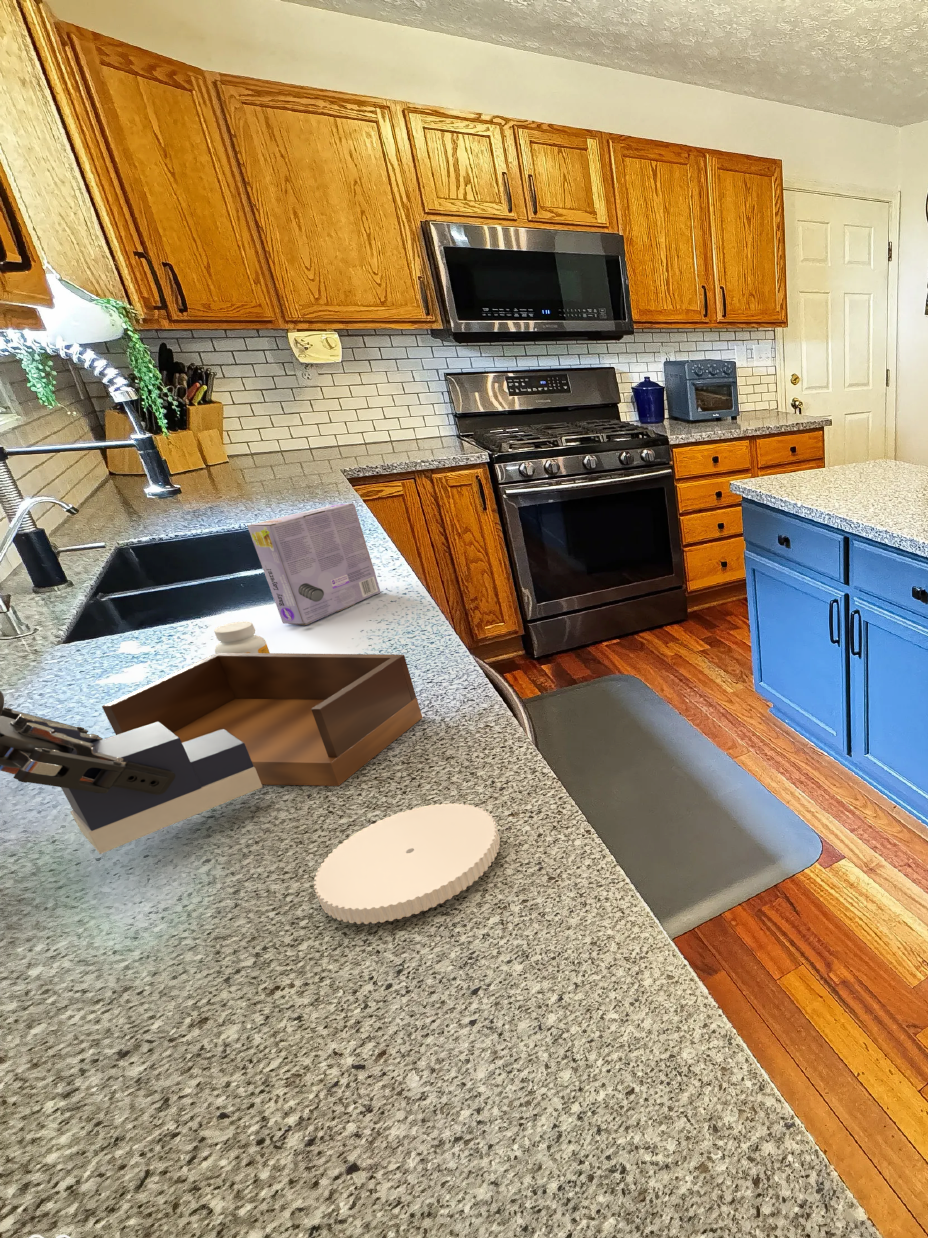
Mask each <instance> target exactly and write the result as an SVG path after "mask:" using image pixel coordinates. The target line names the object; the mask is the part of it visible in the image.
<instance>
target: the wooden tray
mask: <svg viewBox="0 0 928 1238" xmlns="http://www.w3.org/2000/svg"><path fill="white" fill-rule="evenodd" d="M407 663H408V662H407V660H406V657H405V654H391V653H390V654H389V653H387V654H386V653H385V654H383V653H381V654H380V653H378V654H375V653H294V652H293V653H291V652H290V653H289V652H288V653H283V652H281V653H279V652H278V653H277V652H270V653H214V654H212V655H209V656H206V657H205V658H202V659H201V660H198V661H197V662H194V663H192V664H190V665H187V666H185V667H183V668H181V669H179V670H177V671H175V672H173V673H170V674H168V675H166V676H164V677H162V678H159V679H158V680H155V681H153V682H151V683H148V684H146V685H144V686H142V687H140V688H138V689H136V690H134V691H132V692H129V693H127V694H125V695H123V696H121V697H118V698H116V699H114V700H112V701H109V702H108V703H105V704H104V705H101V708H102V710H103V712H104V715H105V717H106V718H107V721H108V722H109V724H110V727H111V729H112V730H113V732H114V735H118V734H121V733H124V732H127V731H130V730H133V729H136V728H140V727H143V726H146V725H149V724H152V723H155V722H160V723H161V724H162V725H164V726H165V727H166V728H167V729H169V730H170V731H171V732H173V733H174V734H175V735H176V736H178V737H179V738H180V740H181V742H182V743H184V742H186V741H189V740H192V739H195V738H198V737H201V736H204V735H207V734H210V733H212V732H215V731H218V730H221V729H225V730H226V731H228V732H229V733H231V734H232V735H233V736H235V737H236V738H238V739H239V740H241V741H242V742H243V743H245V746H246V748H247V751H248V753H249V756H250V758H251V761H252V763H253V766H254V767H255V769H256V772H257V774H258V777H259V779H260V782H261V784H262V786H265V785H266V786H267V785H268V786H269V785H271V786H318V787H319V786H320V787H321V786H324V787H326V786H327V787H329V786H330V787H337V786H338V787H339V786H340V785H342V784H343V783H345V782H346V781H347V780H348V779H349V778H351V776H353V775H354V774H355V773H357V772H358V771H359V770H360V769H362V768H363V767H365V765H366V764H368V763H369V762H370V761H372V760H373V759H374V758H375V757H376V756H378V755H379V754H381V752H383V751H384V750H385V749H386V748H387V747H389V746H390V745H391V744H392V743H394V742H395V741H396V740H397V739H399V738H400V737H401V736H402V735H403V734H405V733H406V732H407V731H409V730H410V729H411V728H412V727H413V726H414V725H416V724H417V723H418V722H419V721H420V720H422V719H423V715H422V714H423V713H422V711H421V708H420V705H419V700H418V697H417V694H416V690H415V688H414V684H413V681H412V677H411V674H410V670H409V666H408V664H407Z"/></svg>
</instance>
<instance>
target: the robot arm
mask: <svg viewBox="0 0 928 1238" xmlns="http://www.w3.org/2000/svg"><path fill="white" fill-rule="evenodd" d="M102 739H104V738H102V737H100V735H98V734H95V733H89V731H88V729H85V728H84V727H82V726H75V725H71V724H68V723H63V722H60V721H56V720H52V719H49V718H45V717H40V716H37V715H34V714H30V713H26V712H22V711H18V710H15V709H13V708H10V707H6V706H5V696H4V693H3V692H2V691H1V690H0V772H4V773H7V774H12V775H14V776H12V778H13V779H14V780H17V781H18V782H20V783H23V784H24V783H25V784H27V783H28V784H36V785H41V786H42V785H43V786H51V787H58V788H61V787H63V788H70V789H77V790H84V791H91V792H95V793H107V792H108V791H109V789H110V788H111V786H113V787H119V788H124V789H129V790H134V791H140V792H145V793H150V794H155V795H160V794H163V793H165V792H166V790H167V789H168V787H169V786H170V785H171V783H172V782H173V780H174V779H175V774H174V773H173V772H172V771H171V770H167V769H163V768H158V767H154V766H149V765H144V764H140V763H135V762H131V761H126V760H124V759H123V758H120V757H113V756H110V755H107V754H103V753H100V752H97V750H96V746H95V745H94V744H91V743H93V742H96V741H99V740H102ZM74 749H75V750H76V751H77V754H76V755H74V754H71V753H72V751H73V750H74ZM92 767H94V768H100V769H102V770H101V771H100V773H99V774H98V775H97V777H94V776H89V775H84V774H85V772H86V771H87V770H88V769H89V768H92Z"/></svg>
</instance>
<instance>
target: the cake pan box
mask: <svg viewBox="0 0 928 1238" xmlns="http://www.w3.org/2000/svg"><path fill="white" fill-rule="evenodd" d="M247 530H248V532H249V535H250V537H251V540H252V543H253V546H254V549H255V551H256V554H257V556H258V559H259V562H260V565H261V568H262V570H263V573H264V576H265V578H266V581H267V584H268V586H269V589H270V592H271V595H272V597H273V600H274V602H275V605H276V606H275V607H276V609H277V611H278V614H279V617H280V619H281V622H282V624H285V625H298V626H307V625H309V624H312V623H314V622H317V621H318V620H321V619H323V618H325V617H328V616H331V615H332V614H334V613H338V612H341V611H343V610H345V609H347V608H350V607H352V606H355V604H357V603H359V602H362V601H364V600H366V599H368V598H370V597H371V598H372V597H373V596H375V595H378V594H380V593H381V589H380V585H379V582H378V578H377V574H376V571H375V568H374V565H373V561H372V558H371V556H370V553H369V548H368V545H367V542H366V538H365V535H364V532H363V529H362V524H361V522H360V518H359V515H358V511H357V509H356V504H354V502H352V503H351V502H349V503H338V504H330V505H326V506H322V507H318V508H315V509H314V508H313V509H310V510H306V511H301V512H297V513H293V514H292V513H291V514H287V515H284V516H280V517H276V518H272V519H268V520H263V521H259V522H255V523H251V524H247Z"/></svg>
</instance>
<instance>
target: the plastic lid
mask: <svg viewBox="0 0 928 1238" xmlns="http://www.w3.org/2000/svg"><path fill="white" fill-rule="evenodd" d="M500 840H501V838H500V835H499V830H498V826H497V823H496V821H495V818H494V816H493V815H491V813H490V812H487V810H484V808H480V806H475V805H473V804H472V805H470V804H468V803H467V804H464V803H458V802H455V803H452V802H448V803H441V804H439V803H436V804H433V805H432V804H429V805H427V806H425V805H423V806H422V805H421V806H420V807H414V808H413V809H406V810H405V811H399V812H398V813H397V814H391V815H390V816H386V817H384V818H383V819H381V820H377V821H376V822H374V823H371V824H368V826H367V827H366V826H365V827H363V828H362V829H361V830H360V831H356V832H355V834H353V835H350V836H349V837H348V838H347V839H344V840H343V841H342V843H340V844H338V845H337V847H336V848H334V849H332V850H331V851H332V852H331V853H328V854H327V857H325V858H324V859H323V862H321V863H320V867H318V868H317V872H316V873H315V877H314V878H313V880H314V881H313V888H314V892H315V895H316V897H317V899H318V902H319V904H320V907H321V908H322V910H323V911H324V913H326V914H327V915H328V916H329V917H332V919H337V921H342V922H344V923H347V922H349V924H353V923H356V924H357V925H360V924H362V923H363V924H364V925H369V923H371V924H377V923H379V922H380V923H382V924H383V923H385V922H386V921H388V922H392V921H394V920H396V919H397V920H402V918H405V917H406V918H409V917H411V916H412V915H414V914H415V915H417V914H420V912H426V911H428V910H429V909H430V908H435V907H437V905H439V904H444V903H445V902H446V901H447V900H451V899H452V898H453V897H454V896H457V895H459V894H460V893H461V892H462V891H466V890H467V887H469V886H472V885H473V884H474V882H477V881H478V880H479V878H480V877H482V876H483V875H484V872H487V871H488V869H489V868H488V867H491V866H492V863H493V862H494V861H495V858H496V857H497V855H498V854H497V853H499V849H500V847H501V846H500V844H501V841H500Z"/></svg>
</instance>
